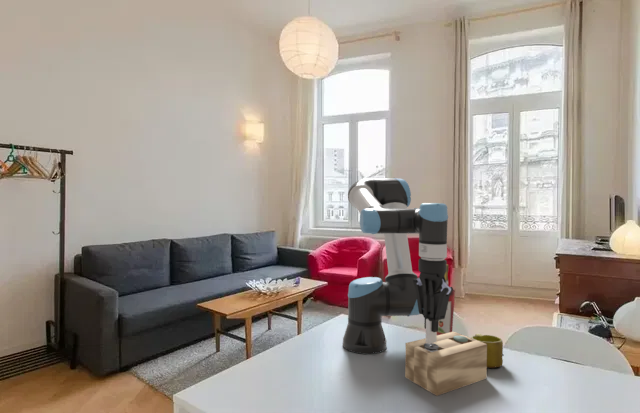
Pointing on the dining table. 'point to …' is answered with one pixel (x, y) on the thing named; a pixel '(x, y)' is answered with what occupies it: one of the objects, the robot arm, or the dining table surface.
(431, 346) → the metal pin
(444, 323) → the liquor
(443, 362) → the oak block
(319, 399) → the dining table surface
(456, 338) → the walnut peg
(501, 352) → the mug
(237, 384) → the dining table surface
